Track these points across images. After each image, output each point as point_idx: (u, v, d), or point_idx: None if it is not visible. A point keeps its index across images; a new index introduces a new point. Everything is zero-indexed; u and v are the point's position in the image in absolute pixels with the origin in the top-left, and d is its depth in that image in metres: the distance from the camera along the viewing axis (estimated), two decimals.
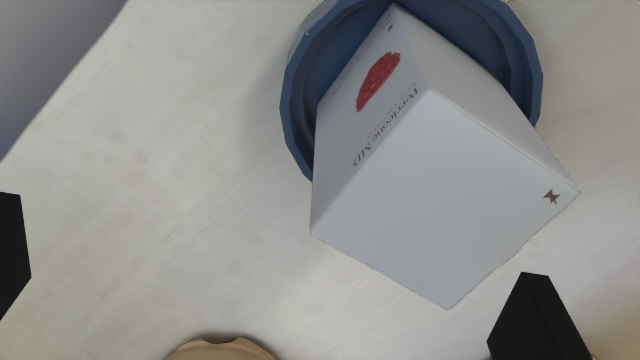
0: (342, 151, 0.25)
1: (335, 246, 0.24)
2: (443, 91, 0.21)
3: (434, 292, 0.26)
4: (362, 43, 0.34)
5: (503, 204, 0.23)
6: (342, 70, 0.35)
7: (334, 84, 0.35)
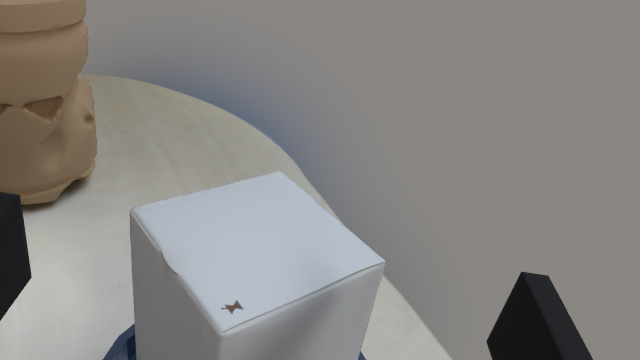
0: None
1: (262, 176, 0.28)
2: (371, 279, 0.24)
3: (166, 205, 0.25)
4: None
5: (246, 271, 0.22)
6: None
7: None
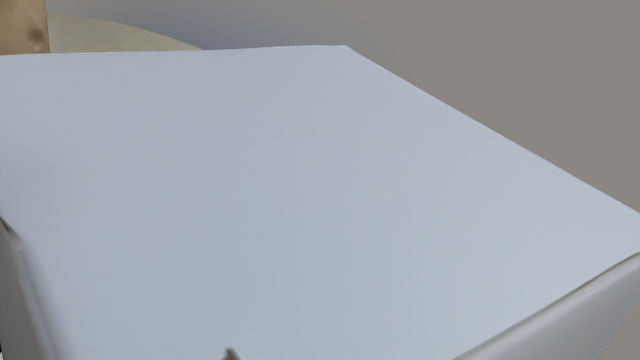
0: None
1: (307, 46, 0.13)
2: (638, 286, 0.08)
3: (60, 62, 0.09)
4: None
5: (273, 233, 0.06)
6: None
7: None
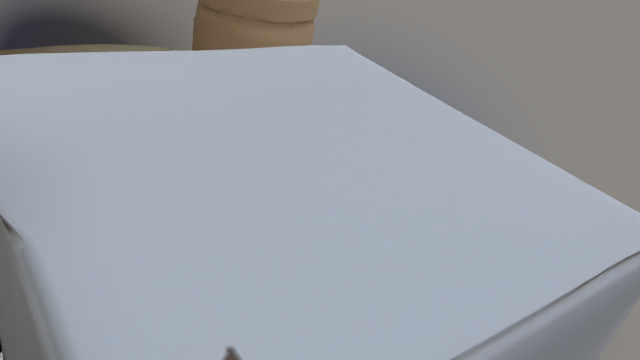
0: None
1: (307, 46, 0.13)
2: (638, 286, 0.08)
3: (61, 62, 0.09)
4: None
5: (273, 233, 0.06)
6: None
7: None
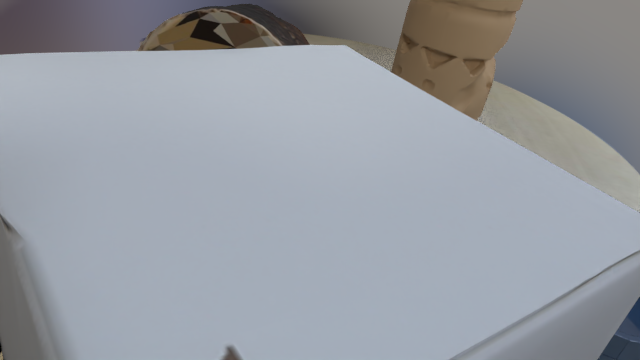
0: None
1: (307, 46, 0.13)
2: (638, 285, 0.08)
3: (61, 62, 0.09)
4: None
5: (273, 232, 0.06)
6: None
7: None
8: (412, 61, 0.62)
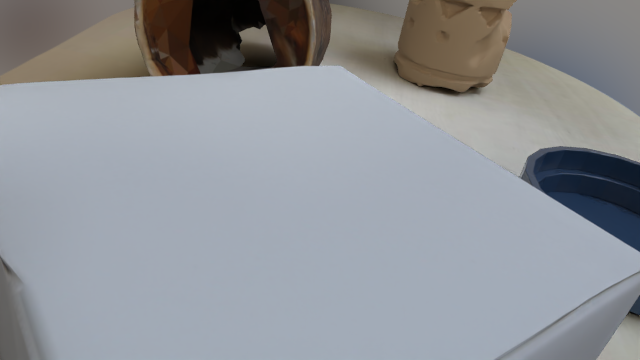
0: None
1: (301, 67, 0.13)
2: (618, 313, 0.08)
3: (59, 91, 0.09)
4: None
5: (262, 270, 0.06)
6: None
7: None
8: (426, 12, 0.59)
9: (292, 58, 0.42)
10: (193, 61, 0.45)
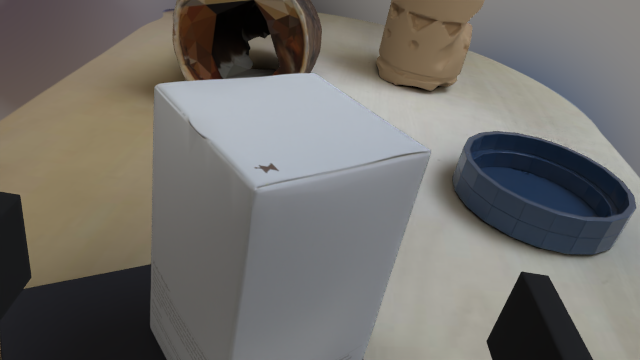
0: None
1: (295, 74, 0.26)
2: (415, 169, 0.22)
3: (194, 85, 0.23)
4: None
5: (281, 141, 0.20)
6: None
7: None
8: (400, 25, 0.72)
9: (291, 64, 0.55)
10: (215, 65, 0.59)
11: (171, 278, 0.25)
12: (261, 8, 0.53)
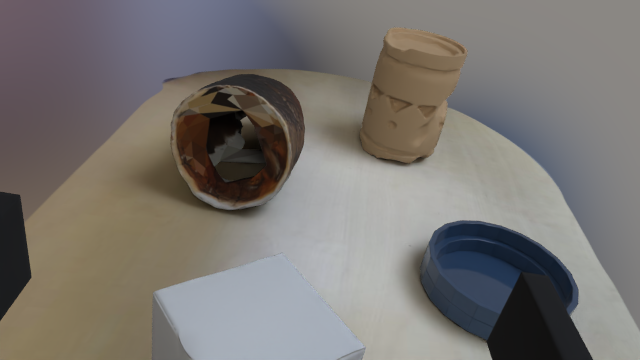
0: None
1: (266, 258, 0.33)
2: None
3: (184, 289, 0.29)
4: None
5: (247, 356, 0.26)
6: None
7: None
8: (380, 106, 0.79)
9: (276, 163, 0.61)
10: (209, 159, 0.65)
11: None
12: (249, 117, 0.60)
